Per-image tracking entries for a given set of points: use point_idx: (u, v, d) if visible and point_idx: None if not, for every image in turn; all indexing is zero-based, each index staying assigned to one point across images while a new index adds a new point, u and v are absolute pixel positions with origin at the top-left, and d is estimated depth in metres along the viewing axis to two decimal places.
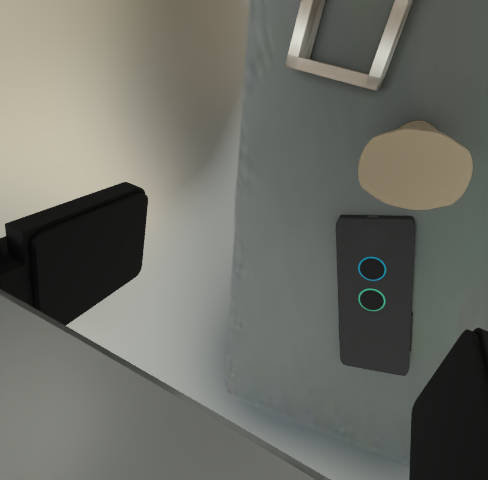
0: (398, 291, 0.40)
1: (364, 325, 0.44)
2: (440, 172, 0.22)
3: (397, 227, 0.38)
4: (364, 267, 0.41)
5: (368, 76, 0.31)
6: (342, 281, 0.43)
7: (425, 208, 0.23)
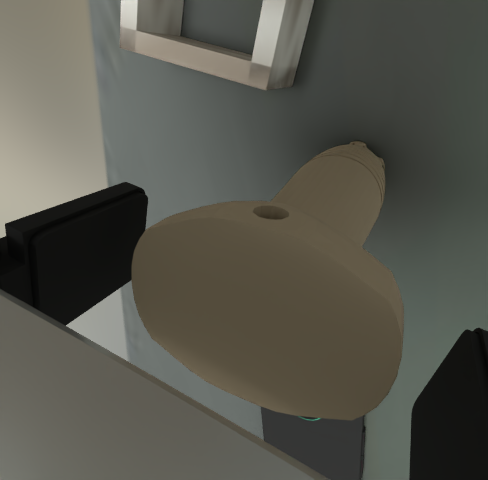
0: None
1: (296, 435, 0.30)
2: (316, 340, 0.08)
3: None
4: None
5: (251, 64, 0.17)
6: None
7: (292, 412, 0.09)
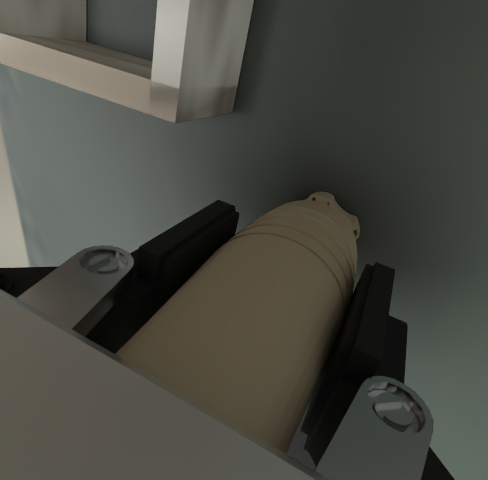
0: None
1: None
2: None
3: None
4: None
5: (151, 83, 0.11)
6: None
7: None
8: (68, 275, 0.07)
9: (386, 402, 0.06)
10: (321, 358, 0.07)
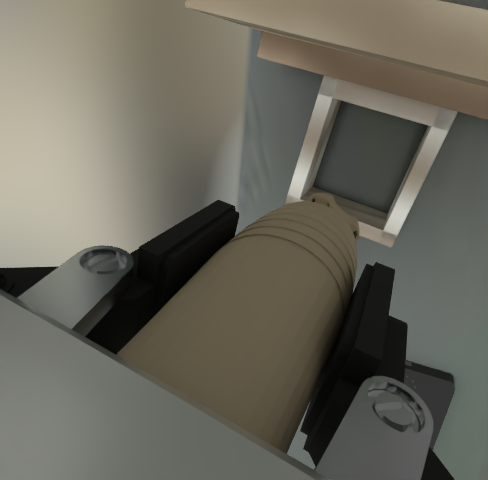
0: None
1: None
2: None
3: (433, 384, 0.32)
4: None
5: (383, 231, 0.26)
6: None
7: None
8: (68, 275, 0.07)
9: (386, 402, 0.06)
10: (320, 360, 0.07)
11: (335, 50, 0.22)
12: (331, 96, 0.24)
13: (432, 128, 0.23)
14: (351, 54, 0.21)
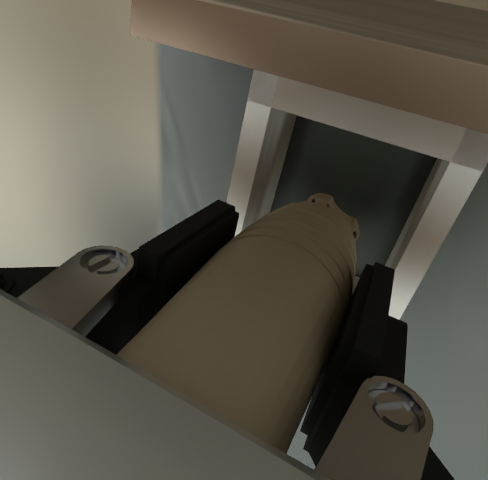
0: None
1: None
2: None
3: None
4: None
5: None
6: None
7: None
8: (68, 275, 0.07)
9: (386, 402, 0.06)
10: (320, 360, 0.07)
11: (261, 17, 0.11)
12: (269, 104, 0.14)
13: (451, 165, 0.12)
14: (291, 24, 0.11)
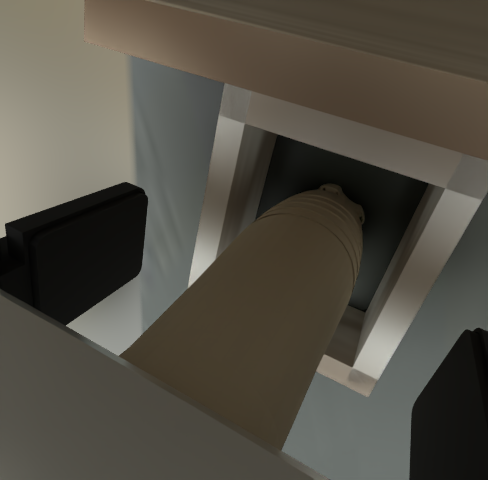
0: None
1: None
2: None
3: None
4: None
5: (352, 369, 0.14)
6: None
7: None
8: None
9: None
10: (337, 311, 0.09)
11: (227, 22, 0.10)
12: (242, 120, 0.12)
13: (446, 192, 0.11)
14: (261, 31, 0.09)
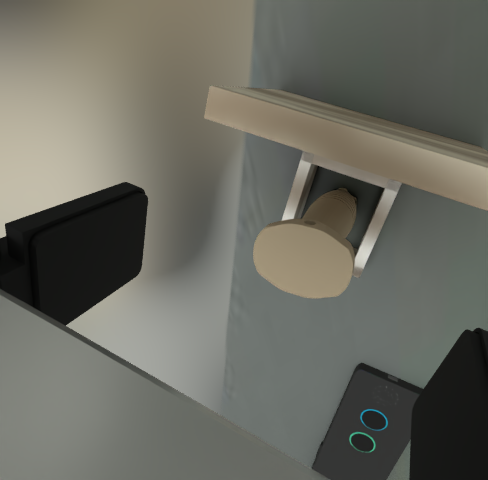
0: (390, 445, 0.42)
1: (346, 457, 0.45)
2: (325, 266, 0.22)
3: (413, 399, 0.39)
4: (367, 416, 0.42)
5: None
6: (340, 418, 0.43)
7: (315, 297, 0.23)
8: None
9: None
10: (348, 227, 0.28)
11: None
12: (310, 162, 0.32)
13: (386, 189, 0.30)
14: None
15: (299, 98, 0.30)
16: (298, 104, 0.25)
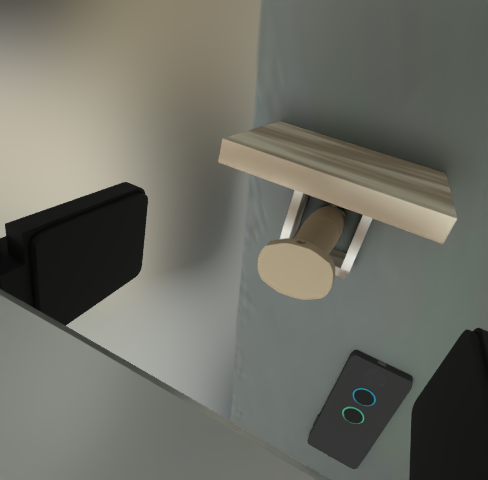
0: (377, 419, 0.49)
1: (338, 427, 0.53)
2: (312, 275, 0.29)
3: (398, 381, 0.46)
4: (358, 394, 0.49)
5: (340, 269, 0.40)
6: (335, 394, 0.51)
7: (305, 298, 0.30)
8: None
9: None
10: (334, 240, 0.35)
11: None
12: None
13: None
14: None
15: (295, 133, 0.37)
16: (292, 147, 0.32)
